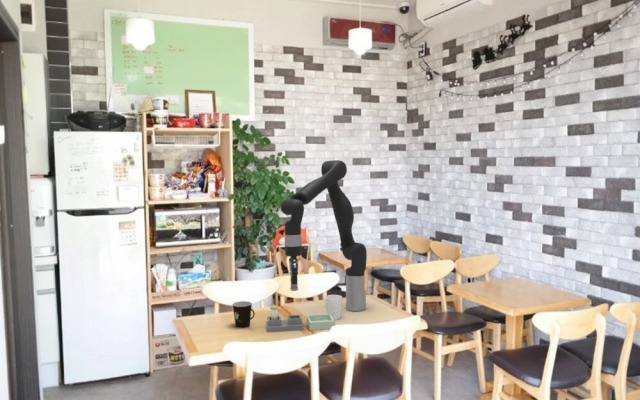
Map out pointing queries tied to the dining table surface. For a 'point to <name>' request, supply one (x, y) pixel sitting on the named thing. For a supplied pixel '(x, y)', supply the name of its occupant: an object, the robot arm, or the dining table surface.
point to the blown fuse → (293, 286)
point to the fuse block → (285, 324)
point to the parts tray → (320, 322)
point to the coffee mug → (242, 313)
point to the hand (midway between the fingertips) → (294, 282)
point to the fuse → (274, 312)
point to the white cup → (334, 306)
